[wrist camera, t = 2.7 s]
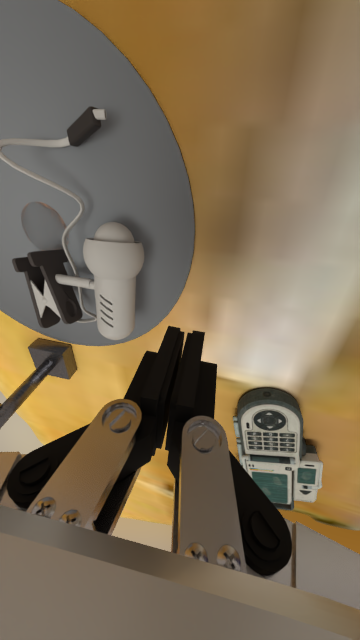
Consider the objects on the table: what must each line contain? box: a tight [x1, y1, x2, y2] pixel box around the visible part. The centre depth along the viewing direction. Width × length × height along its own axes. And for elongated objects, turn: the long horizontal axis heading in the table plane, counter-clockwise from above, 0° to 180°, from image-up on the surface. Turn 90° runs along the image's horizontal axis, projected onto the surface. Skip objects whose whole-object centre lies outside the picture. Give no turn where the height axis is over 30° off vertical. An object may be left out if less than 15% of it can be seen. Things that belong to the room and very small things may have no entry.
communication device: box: [233, 388, 323, 510], centre depth 32 cm, size 12×24×9 cm, turn 13°
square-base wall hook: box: [0, 338, 77, 428], centre depth 27 cm, size 6×5×15 cm
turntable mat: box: [0, 0, 195, 346], centre depth 23 cm, size 30×30×1 cm
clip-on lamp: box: [0, 106, 144, 340], centre depth 20 cm, size 12×6×18 cm
